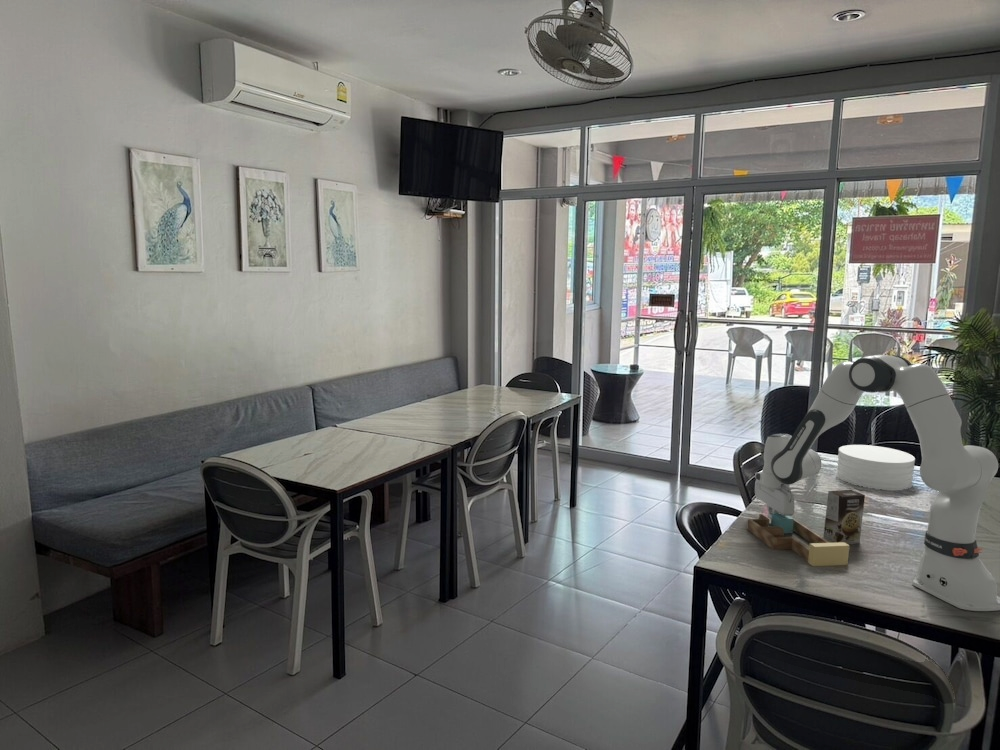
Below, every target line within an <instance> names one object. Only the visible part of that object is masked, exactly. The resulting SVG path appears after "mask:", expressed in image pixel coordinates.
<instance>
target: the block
mask: <svg viewBox="0 0 1000 750" xmlns="http://www.w3.org/2000/svg"><path fill="white" fill-rule="evenodd" d="M792 517H793V516H791V517H790V516H783V515H782V514H780V513H779V514H772V517H771V519H770V520H771V521H770V526H779V527H781V528H782V529H783V530H784V531H783V534H793V533H794V531H793V523H794V519H795V518H794V517H793V518H794V519H793V518H792Z"/></svg>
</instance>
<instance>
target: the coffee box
mask: <svg viewBox="0 0 1000 750" xmlns="http://www.w3.org/2000/svg"><path fill="white" fill-rule="evenodd" d="M865 497H866V495H865V494H864V493H860V492H858V491H855V490H852V489H842V490H841V489H838V490H828V491H827V502H826V509H825V517H824V518H825V519H824V527H823V535H822V537H823V538H824V539H826V540H827V541H829V542H830V543H837V542H845V543H846V544H848V545H854V544H860V542H861V535H862V534H861V533H862V524H863V515H864V506H865Z"/></svg>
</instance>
